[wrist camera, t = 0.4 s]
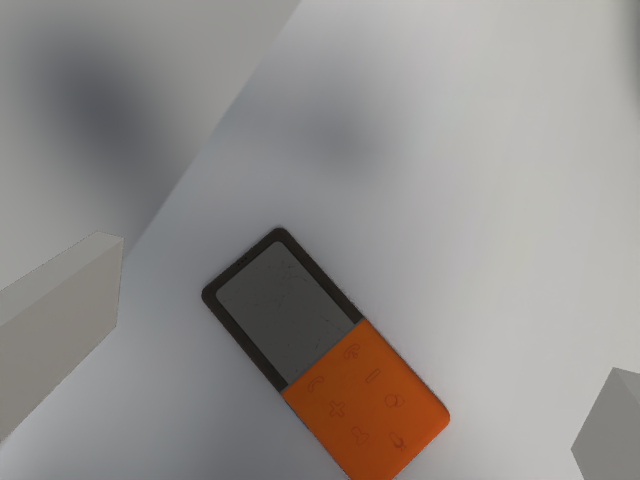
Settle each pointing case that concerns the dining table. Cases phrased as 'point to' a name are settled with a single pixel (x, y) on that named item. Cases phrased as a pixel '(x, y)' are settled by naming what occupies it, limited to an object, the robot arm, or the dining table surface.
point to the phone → (325, 359)
